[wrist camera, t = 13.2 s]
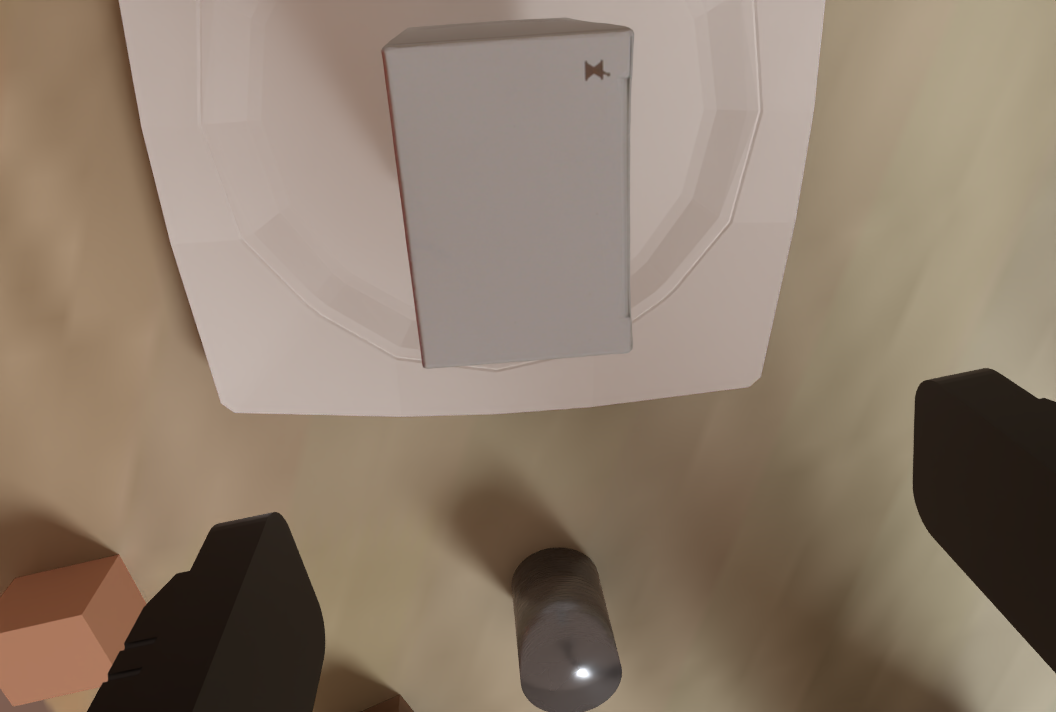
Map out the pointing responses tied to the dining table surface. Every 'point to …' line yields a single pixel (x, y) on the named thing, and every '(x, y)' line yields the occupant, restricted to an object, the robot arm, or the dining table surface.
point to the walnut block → (391, 706)
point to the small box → (515, 186)
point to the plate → (376, 213)
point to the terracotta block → (65, 628)
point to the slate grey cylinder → (563, 632)
